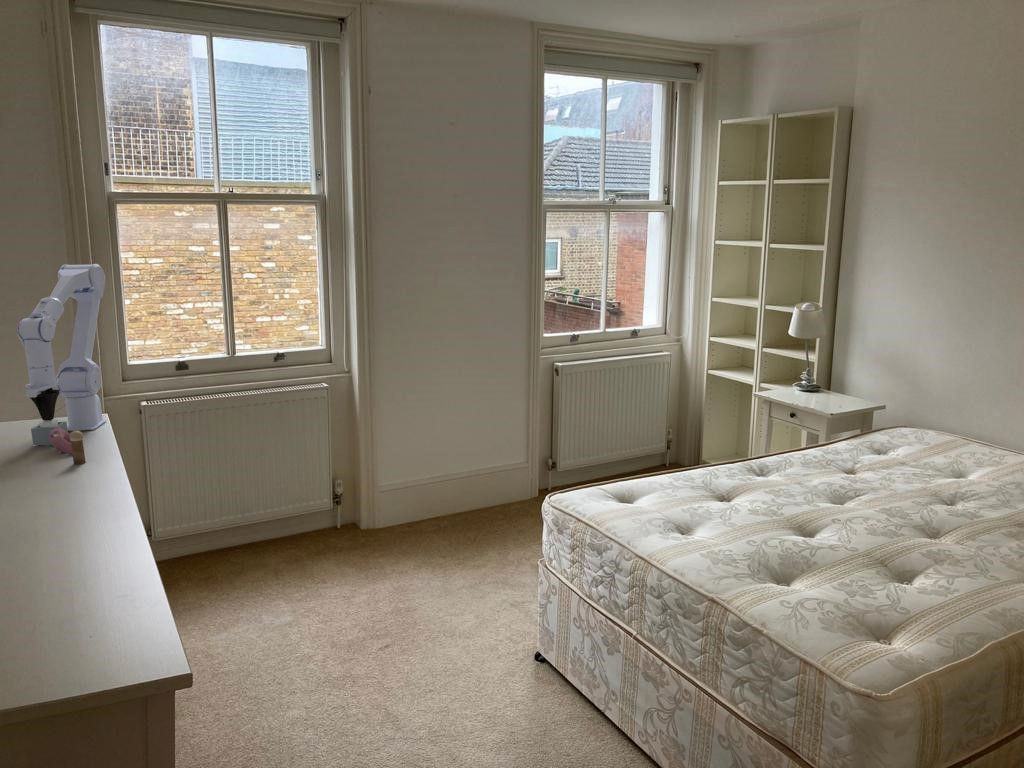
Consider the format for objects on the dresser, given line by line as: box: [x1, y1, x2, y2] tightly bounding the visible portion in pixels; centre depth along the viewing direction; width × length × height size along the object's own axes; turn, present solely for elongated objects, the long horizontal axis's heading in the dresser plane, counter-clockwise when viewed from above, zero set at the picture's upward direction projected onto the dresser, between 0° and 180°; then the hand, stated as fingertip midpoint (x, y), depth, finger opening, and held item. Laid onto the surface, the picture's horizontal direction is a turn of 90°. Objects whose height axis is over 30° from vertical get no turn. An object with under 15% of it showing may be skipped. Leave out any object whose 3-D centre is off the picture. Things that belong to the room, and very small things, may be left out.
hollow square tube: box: [30, 421, 69, 446], centre depth 207 cm, size 6×6×4 cm
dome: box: [38, 419, 59, 427], centre depth 207 cm, size 4×4×4 cm
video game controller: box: [49, 427, 73, 456], centre depth 198 cm, size 10×5×7 cm, turn 25°
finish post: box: [69, 430, 87, 465], centre depth 188 cm, size 3×3×8 cm
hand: (48, 419), depth 206 cm, fingers closed, pressing on dome
